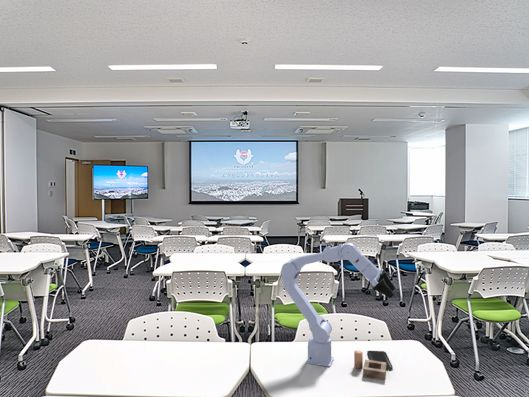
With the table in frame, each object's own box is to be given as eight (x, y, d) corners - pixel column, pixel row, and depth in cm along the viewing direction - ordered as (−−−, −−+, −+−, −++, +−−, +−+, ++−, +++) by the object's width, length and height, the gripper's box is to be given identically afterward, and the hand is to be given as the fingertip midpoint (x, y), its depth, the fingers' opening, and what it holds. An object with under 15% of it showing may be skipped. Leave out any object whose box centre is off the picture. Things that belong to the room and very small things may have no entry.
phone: (385, 351, 159) (393, 368, 144) (385, 353, 159) (393, 371, 144) (366, 350, 160) (372, 367, 145) (366, 353, 160) (372, 370, 145)
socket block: (363, 376, 140) (363, 368, 140) (365, 366, 147) (365, 359, 147) (385, 380, 137) (385, 372, 137) (386, 370, 144) (386, 362, 144)
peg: (353, 368, 146) (353, 353, 146) (354, 364, 149) (354, 349, 149) (362, 369, 145) (362, 354, 145) (363, 365, 148) (362, 351, 148)
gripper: (370, 265, 137) (399, 292, 133) (375, 256, 150) (401, 280, 147) (357, 277, 139) (385, 304, 136) (363, 267, 152) (388, 292, 149)
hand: (393, 293), depth 141 cm, fingers open, 7 cm apart
